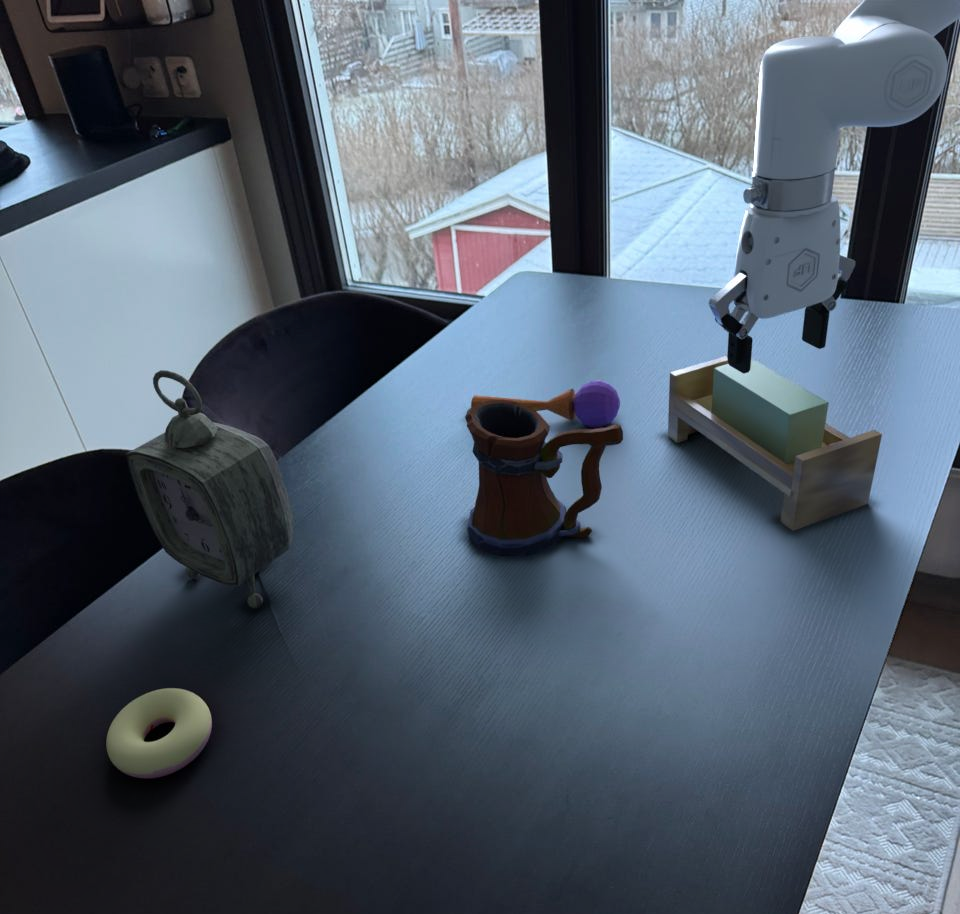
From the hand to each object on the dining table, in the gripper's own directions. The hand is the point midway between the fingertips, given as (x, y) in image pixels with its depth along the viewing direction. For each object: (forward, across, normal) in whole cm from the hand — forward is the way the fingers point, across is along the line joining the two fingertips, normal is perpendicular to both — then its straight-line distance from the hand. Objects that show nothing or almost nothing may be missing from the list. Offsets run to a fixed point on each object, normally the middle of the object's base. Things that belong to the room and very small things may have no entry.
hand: (776, 356), depth 100 cm
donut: (+13, -74, -10) cm, 75 cm away
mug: (+14, -29, +2) cm, 32 cm away
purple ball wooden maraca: (+14, -17, +26) cm, 34 cm away
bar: (+9, -1, 0) cm, 9 cm away
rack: (+14, -1, 0) cm, 14 cm away
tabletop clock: (+13, -62, +12) cm, 64 cm away
